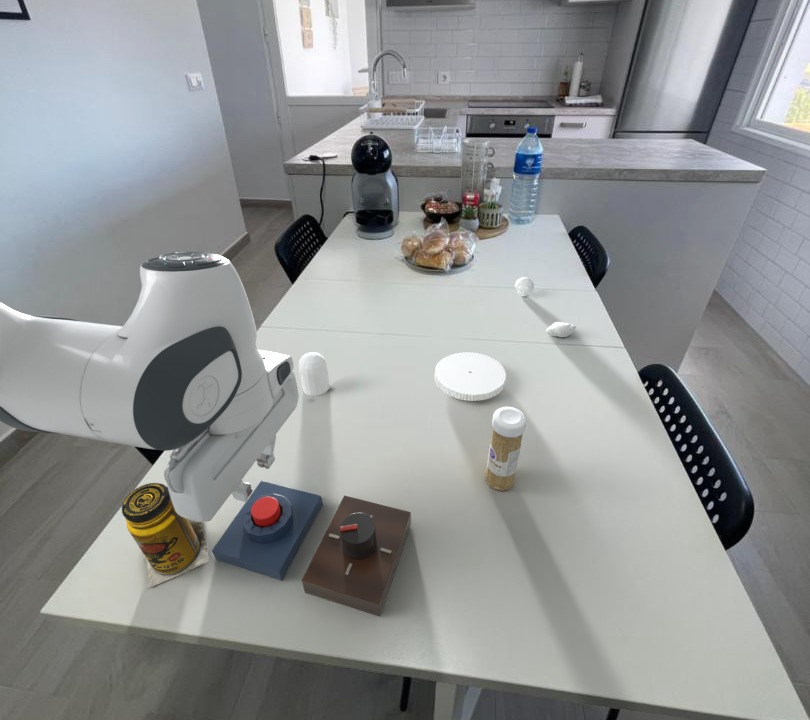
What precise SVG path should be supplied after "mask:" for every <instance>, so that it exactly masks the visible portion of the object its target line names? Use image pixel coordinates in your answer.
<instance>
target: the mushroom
mask: <svg viewBox="0 0 810 720" xmlns="http://www.w3.org/2000/svg"><path fill="white" fill-rule="evenodd" d="M514 288H515V289H516V291H517V295H518V296H520V297H522V298H523V297H527V296H529V295H530V294H532V293H533V291H534V289H535V284H534V281H533V280H532V279H531V278H529V277H526V276H524V277H523V276H522V277H520V278H519V279H517V280H516V282H515V284H514Z"/></svg>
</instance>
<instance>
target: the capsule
mask: <svg viewBox="0 0 810 720" xmlns="http://www.w3.org/2000/svg"><path fill="white" fill-rule="evenodd" d="M328 371H329V370H328V364H327V362H326V360H325V357H324V356H323V355H322V354H320V353H319V352H315V351H313V352H312V351H311V352H307V353H305V354H303V355H302V356H301V357H300V359H299V361H298V372H299V377H300V382H301V388H302V392H303V393H304V394H305V395H307V396H311V397H318V396H322V395H324V394H325V393H327V392H328V391H329V390H330V386H331V385H330V378H329V372H328Z"/></svg>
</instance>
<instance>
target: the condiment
mask: <svg viewBox="0 0 810 720" xmlns="http://www.w3.org/2000/svg"><path fill="white" fill-rule="evenodd" d="M121 514H122V516H123V517H124V518H125V521H126V528H127V531H128V532H129V533H130V536H131V537H132V539H133V540H134V541H135V543H136V544H137V546H138V547H139V550H140V551H141V552H142V554H143V555H144V557H145V558H146V561H147V571H148V572H147V573H148V588H152V587H155V586H157V585H160V584H162V583H164V582H167V581H169V580H171V579H173V578H176V577H179V576H181V575H182V574H185V573H188V572H189V571H191V570H194V569H196V568H197V567H199V566H202V565H204V564H206V563H209V562H210V558H209V552H208V546H207V542H206V541H207V540H206V536H205V531H204V526H203V522H197V521H193V520H189V519H186V518H184V517H181V516H180V515H178V514H177V513H176V511H175V508H174V506H173V503H172V500H171V497H170V494H169V490H168V486H166V485H165V484H163V483H158V482H150V483H145V484H142V485H140V486H139V487H137V488H135V489H133V490H132V491H131V492H129V494H128V495H127V496H125V499H124V500H123V502H122V504H121Z"/></svg>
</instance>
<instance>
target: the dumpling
mask: <svg viewBox="0 0 810 720" xmlns="http://www.w3.org/2000/svg"><path fill="white" fill-rule="evenodd" d="M577 328H578V325H575V324H573V323H569V322H563V321H555V322H553V323H552V324H551V325H550V326H549V327H548V328H547V329H546V330H545V333H546V334H547V335H549V336H552V337H559V338H567V337H569V336H571V335H572V334H573V333H574V332H575V330H576V329H577Z"/></svg>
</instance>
